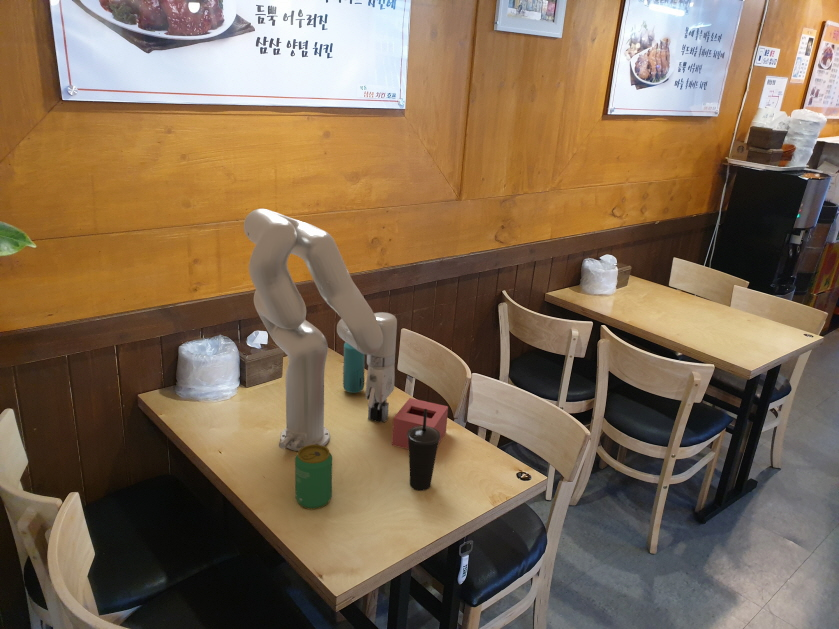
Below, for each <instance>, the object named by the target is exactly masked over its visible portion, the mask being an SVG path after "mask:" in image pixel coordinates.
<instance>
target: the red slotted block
mask: <svg viewBox="0 0 839 629" xmlns="http://www.w3.org/2000/svg"><path fill="white" fill-rule="evenodd" d="M424 409H427V419H426V426H429V427H432V428H435V429H436V430H438V431H439V433H440V435H441V437H440V440H439V442H438V445H439V444H440V443H441V441H442V440H443V438H444V436H445V434H446V433H447V424H448V414H449V406H447V405H443V404H440V403H435V402H429V401H425V400H421V399H416V398H412V397H409V398H407V400H406V402H405V403H404V404H403V405H402V406H401V408H399V411H398V412H397V413H396V414H395V415H394V416H393V419H392V437H391V445H392V446H394V447H399V448H403V449H407V450H409V444H408V437H407V432H408V430H409V429H411V428H413V427H416V426H423V419H424Z"/></svg>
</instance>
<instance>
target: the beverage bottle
mask: <svg viewBox="0 0 839 629" xmlns="http://www.w3.org/2000/svg"><path fill="white" fill-rule="evenodd" d="M365 355H366V354H362V353H360V352H359V351H357V350H356V349H355V348H354V347H352V346H351V345H349V344H348V343H346V342H344V343H343V366H342V371H343V372H342V382H343V383H342V387H343V390H344V391H345V392H348V393H351V394H352V393H356V394H357V393H360V392H362V391H363V390H364V388H365V386H366V382H365V380H366V378H365V376H366V375H365V368H366V367H365V362H366V361H365V360H366V358H365V357H366V356H365Z"/></svg>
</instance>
